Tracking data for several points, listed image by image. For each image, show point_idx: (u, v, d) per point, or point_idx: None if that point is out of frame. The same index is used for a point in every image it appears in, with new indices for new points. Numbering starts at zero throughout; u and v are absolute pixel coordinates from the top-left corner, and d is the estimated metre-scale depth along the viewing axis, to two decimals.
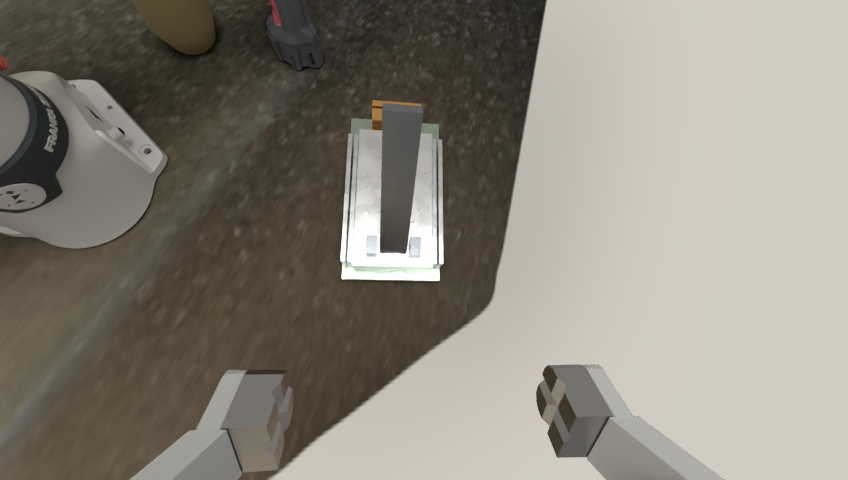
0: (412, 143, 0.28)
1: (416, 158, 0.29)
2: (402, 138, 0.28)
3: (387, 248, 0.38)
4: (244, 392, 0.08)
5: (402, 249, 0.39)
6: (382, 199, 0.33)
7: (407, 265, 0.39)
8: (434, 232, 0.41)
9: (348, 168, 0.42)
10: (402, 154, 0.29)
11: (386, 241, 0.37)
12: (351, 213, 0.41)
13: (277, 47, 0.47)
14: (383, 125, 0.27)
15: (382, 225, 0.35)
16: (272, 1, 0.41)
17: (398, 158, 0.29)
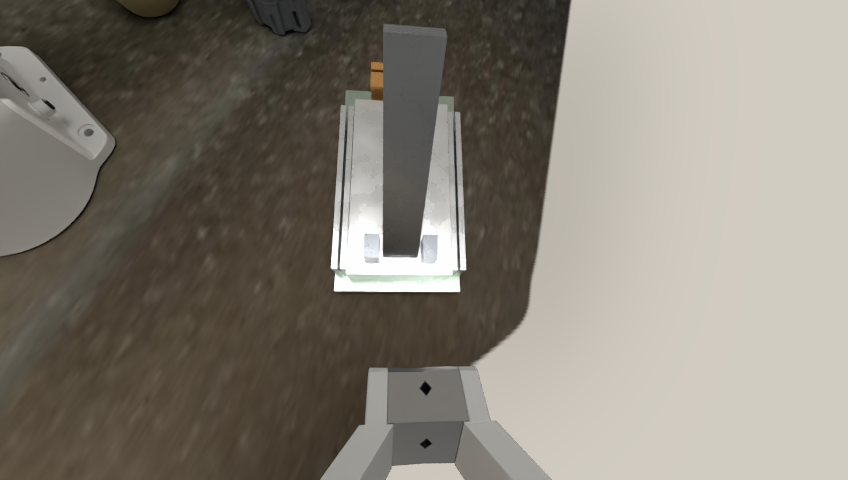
0: (428, 91, 0.19)
1: (434, 116, 0.20)
2: (414, 82, 0.18)
3: (392, 251, 0.29)
4: (395, 389, 0.09)
5: (412, 252, 0.29)
6: (385, 182, 0.23)
7: (419, 273, 0.30)
8: (453, 229, 0.32)
9: (341, 149, 0.33)
10: (413, 110, 0.19)
11: (392, 242, 0.28)
12: (345, 206, 0.31)
13: (253, 4, 0.38)
14: (384, 60, 0.17)
15: (385, 219, 0.26)
16: None
17: (407, 117, 0.20)
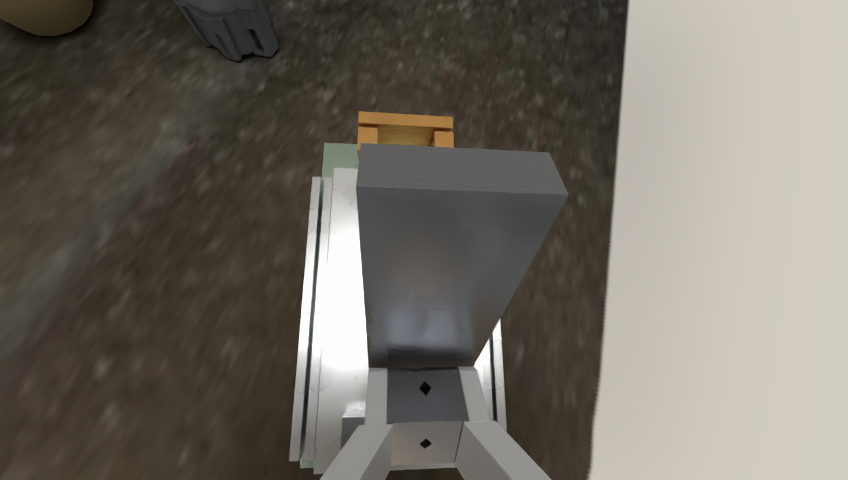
0: (484, 294, 0.07)
1: (490, 326, 0.08)
2: (448, 282, 0.07)
3: None
4: (395, 389, 0.09)
5: None
6: None
7: (434, 465, 0.18)
8: (486, 380, 0.20)
9: (311, 248, 0.21)
10: (442, 320, 0.08)
11: None
12: (315, 347, 0.20)
13: (190, 19, 0.26)
14: (365, 246, 0.06)
15: None
16: None
17: (426, 329, 0.08)
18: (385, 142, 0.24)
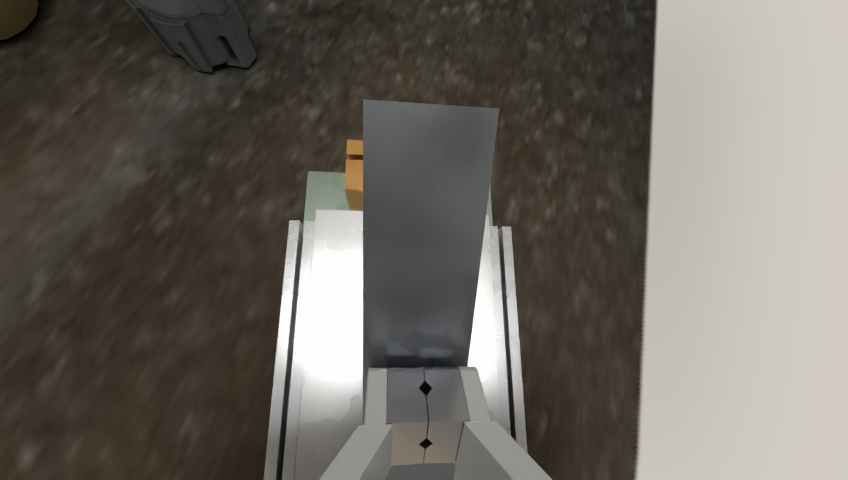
0: (461, 225, 0.09)
1: (474, 277, 0.09)
2: (430, 206, 0.08)
3: None
4: (394, 389, 0.09)
5: None
6: None
7: None
8: None
9: (286, 314, 0.17)
10: (430, 265, 0.09)
11: None
12: (288, 446, 0.15)
13: (148, 23, 0.22)
14: (366, 159, 0.08)
15: None
16: None
17: (417, 280, 0.09)
18: None
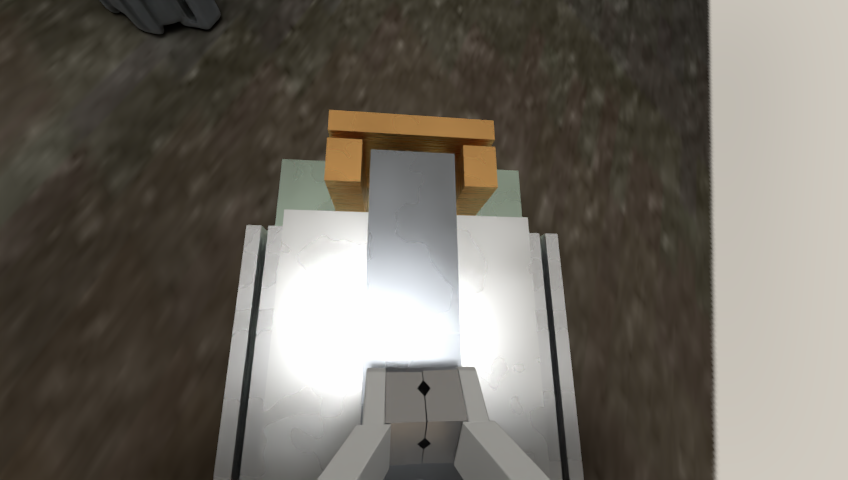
0: (439, 225, 0.12)
1: (454, 266, 0.12)
2: (416, 212, 0.12)
3: None
4: (393, 389, 0.09)
5: None
6: None
7: None
8: None
9: (237, 363, 0.11)
10: (419, 256, 0.11)
11: None
12: None
13: None
14: (372, 182, 0.12)
15: None
16: None
17: (409, 269, 0.11)
18: None
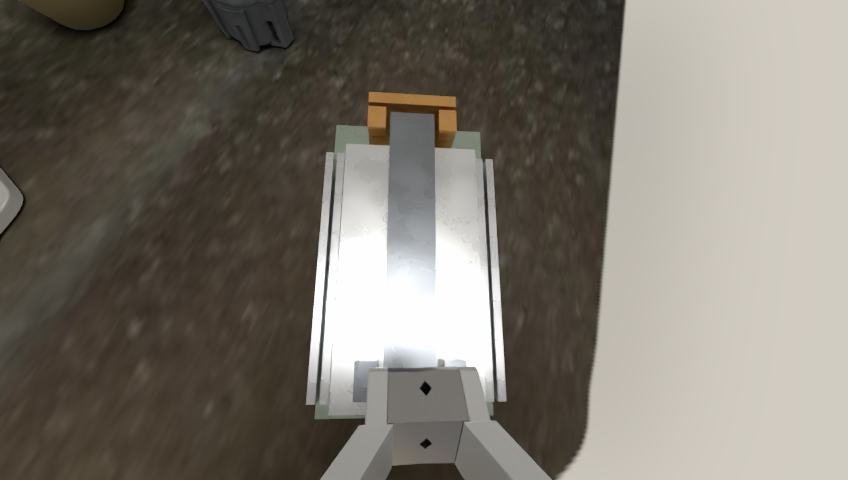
0: (425, 149, 0.23)
1: (433, 168, 0.23)
2: (413, 142, 0.23)
3: None
4: (395, 389, 0.09)
5: None
6: (389, 240, 0.21)
7: None
8: (486, 336, 0.22)
9: (325, 216, 0.23)
10: (415, 163, 0.23)
11: (397, 348, 0.20)
12: (329, 304, 0.21)
13: (214, 12, 0.29)
14: (391, 128, 0.23)
15: (388, 299, 0.20)
16: None
17: (410, 169, 0.23)
18: None
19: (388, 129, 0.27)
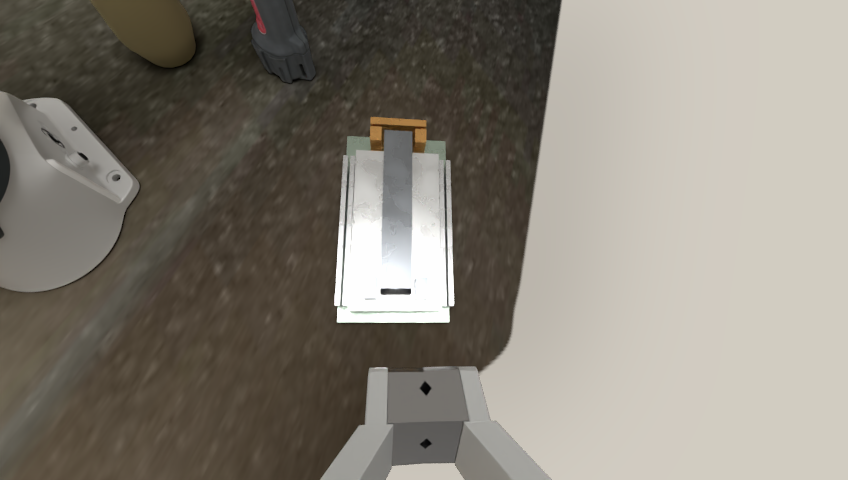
0: (406, 153, 0.37)
1: (411, 166, 0.37)
2: (399, 149, 0.37)
3: (389, 283, 0.33)
4: (395, 389, 0.09)
5: (406, 285, 0.33)
6: (383, 209, 0.35)
7: (412, 309, 0.34)
8: (443, 268, 0.36)
9: (343, 195, 0.36)
10: (399, 162, 0.37)
11: (388, 271, 0.33)
12: (347, 248, 0.35)
13: (263, 58, 0.42)
14: (385, 140, 0.37)
15: (383, 244, 0.34)
16: (254, 6, 0.36)
17: (396, 166, 0.36)
18: None
19: (382, 139, 0.40)
